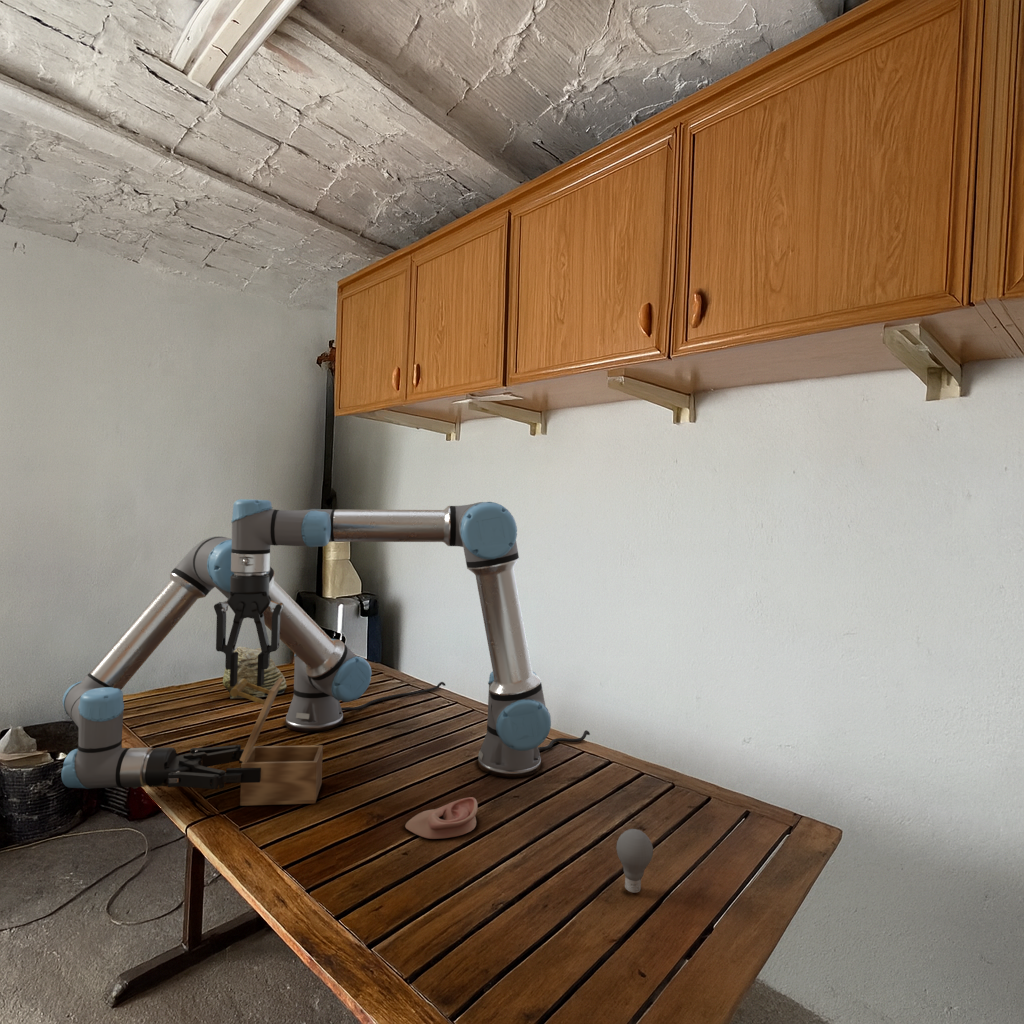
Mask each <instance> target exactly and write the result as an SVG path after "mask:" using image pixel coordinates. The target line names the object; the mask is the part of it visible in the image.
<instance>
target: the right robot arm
mask: <svg viewBox="0 0 1024 1024" xmlns="http://www.w3.org/2000/svg"><path fill="white" fill-rule="evenodd" d="M230 523H231V539H232V551H231V552H232V553H231V571H232V572H234V574H232V576H231V578H230V596H229V598H227V600H225V601H219V602H217V603H215V604H214V605H213V609H214V612H215V615H216V626H215V627H216V630H215V650H216V652H221V653H223V654H225V665H224V666H225V667H224V668H226V669H230V686H235V685H236V683H237V676H238V652H234V651H235V650H236V646H237V643H238V638H239V635H240V633H241V628H242V624H243V621H244V619H251V620H252V619H253V622H254V625H255V628H256V633H257V638H258V642H259V645H260V648H261V651H262V652H261V653H260V654H259V655H258V671H257V686H261V685H262V684H263V683H264V669H267V668H268V667H269V664H270V658H271V653H274V652H276V651H277V650H278V649H279V648H280V641H281V640H280V614H281V611H282V609H283V606H284V604H283V603H277V602H274V601H271V598H270V596H269V575H268V574H267V572H268V571H269V570H270V567H271V546H285V547H286V546H288V547H309V548H314V547H315V548H316V547H325V546H328V544H329V543H333V542H334V543H337V542H339V543H341V542H342V543H347V542H348V543H352V542H353V543H362V542H363V543H444V544H445V545H446V546H447V547H460V548H463V552H464V559H465V564H466V569H467V570H469V571H470V572H471V573H473V574H474V575H475V580H476V585H477V591H478V596H479V602H480V607H481V613H482V619H483V624H484V625H483V626H484V629H485V635H486V641H487V646H488V647H487V648H488V653H489V656H490V657H489V658H490V663H491V669H492V671H491V672H490V674H489V678H488V681H487V684H488V696H487V697H488V699H487V718H486V721H487V722H486V733H485V736H484V739H483V741H482V744H481V747H480V749H479V751H478V754H477V756H478V757H477V765H478V767H479V768H480V769H481V770H482V771H483V772H485V773H487V774H489V775H491V776H496V777H500V778H512V779H513V778H514V779H515V778H524V777H528V776H531V775H534V774H535V773H538V771H539V770H540V769H541V765H542V763H541V762H542V757H541V753H540V752H543V751H548V750H550V749H551V748H552V747H553V746H554V744H555V743H561V742H563V743H564V742H565V743H580V742H582V741H584V740H585V739H586V737H587V736H590V735H591V733H590V731H589V730H588V729H586V730H584V731H583V734H582V736H580V737H578V738H570V737H569V738H568V737H557V738H553V739H552V740H551V741H550V742H549V744H548V745H545V746H540V745H541V744H543V743H544V741H546V739H547V738H548V736H549V734H550V731H551V728H552V721H551V720H552V719H551V718H552V717H551V713H550V711H549V709H548V708H547V707H546V702H545V701H546V700H545V697H544V690H543V684H542V679H541V678H540V677H539V675H537V673H536V672H534V671H533V668H532V662H531V657H530V650H529V644H528V639H527V635H526V629H525V623H524V618H523V616H524V615H523V613H522V612H523V611H522V606H521V601H520V595H519V589H518V583H517V578H516V572H515V567H516V565H517V563H518V562H519V560H520V555H519V550H518V543H517V537H518V525H517V523H516V520H515V518H514V516H513V514H512V513H511V512H510V510H509V509H507V508H506V507H505V506H503V505H502V504H499V503H498V502H492V501H480V502H474V503H470V504H463V505H447V506H446V507H445V508H444V509H341V508H339V509H327V508H326V509H320V508H308V509H301V510H299V509H298V510H297V509H295V510H294V509H293V510H292V509H291V510H289V509H284V510H283V509H277V508H276V509H275V508H274V509H273V507H272V501H271V500H269V499H245V498H241V499H236V500H235V501H234V502H233V505H232V516H231V522H230ZM268 606H270V607H271V612H272V613H273V614H272V631H271V630H270V631H271V634H270V641H269V635H268V631H267V626H266V625H265V622H264V615H263V612H264V611H265V610H266V609H267V607H268ZM229 608H230V609H231V610H232V612H233V613H234V617H233V620H232V625H231V629H230V632H229V636H228V640H227V641H226V639H227V611H228V610H229Z"/></svg>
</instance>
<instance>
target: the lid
mask: <svg viewBox="0 0 1024 1024" xmlns="http://www.w3.org/2000/svg"><path fill="white" fill-rule="evenodd" d="M282 681H283V679H282V678H279V679H278V680H277V682H276V683H275V684H274V686H273V687H272V688H271V690H268V689H265V688H262V687H260V686H257V685H254V684H251V683H249V682H248V680H247V679H245V678H243V679H241V680H240V681H239V682H238V683H237V684H236V685H235V687H234V688H233V689H232V690H231V691H230V692H229V695H230V694H231V696H234V697H235V696H237V695H238V696H241V697H244V698H243V699H247V700H250V701H253V702H255V703H258V704H261V705H262V708H261V710H260V712H259V715H258V717H257V719H256V721H255V724H254V726H253V728H252V731H251V732H250V734H249V735H250V736H249V738H248V740H247V742H246V744H245V747H244V748H243V749H244V751H243V754H242V756H241V758H240V761H242V762H244V761H245V759H246V758H247V756H248V754H249V753H250V751H251V750H252V748H253V747H254V746H255V745H256V743H257V740H258V738H259V736H260V735H261V731H262V729H263V727H264V725H265V723H266V720H267V718H268V716H269V713H270V711H271V709H272V706H273V704H274V702H275V699H276V697H277V695H278V694H277V692H278V690H279V688H280V685H281V683H282ZM245 686H247V687H250V688H253V689H256V690H258V691H261V692H264V693H267V694H268V696H266V698H265V699H262V698H261V697H255V696H252V695H249V694H246V693H243V692H241V691H242V690H243V688H244V687H245Z"/></svg>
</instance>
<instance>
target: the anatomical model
mask: <svg viewBox="0 0 1024 1024" xmlns="http://www.w3.org/2000/svg"><path fill="white" fill-rule="evenodd" d="M478 805H479V804H478V801H477V799H476V798H475V797H471V796H469V797H464V798H460V799H457V800H454V801H452V802H449V803H446V804H444V805H442V806H440V807H437V808H435V809H427V810H424V811H421V812H419V813H417V814H416V815H413V816H412V817H411V818H410V819H409V820H408V821H407V822H406V823H405V825H404V827H405V829H406V830H408V831H409V832H411V833H413V834H415V835H416V836H418V837H422V838H424V839H427V840H428V839H430V840H437V839H438V840H439V839H449V838H455V837H459V836H463V835H466V834H468V833H470V832H472V831H473V830H474V829H475V828H476V826H477V818H476V815H477V813H478V807H479V806H478Z"/></svg>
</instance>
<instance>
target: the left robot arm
mask: <svg viewBox="0 0 1024 1024" xmlns="http://www.w3.org/2000/svg"><path fill="white" fill-rule="evenodd" d="M231 551H232V537H231V538H230V537H226V536H211V537H208V538H205V539H202V540H201V541H200V542H198V543H197V544H195V545H194V547H192V548H191V549H190V550H189V551H188V552H187V553H186V554H185V556H183V558H181V560H180V561H179V563H178V564H177V565H176V566H175V567H174V568H173V569H172V570H171V572H170V573H169V581H168V582H167V583H166V585H164V587H162V589H161V590H160V591H159V592H158V593H157V594H156V595H155V597H154V598H153V599H152V600H151V602H149V604H148V605H147V606H146V607H145V609H143V610H142V612H141V613H140V614H139V615H138V616H137V618H136V619H135V620H134V621H133V622H132V623H131V625H130V626H129V627H128V628H127V629H126V630H125V631H124V633H123V634H122V635H121V636H120V637H119V638H118V640H116V642H115V643H114V644H113V645H112V646H111V647H110V649H109V650H108V651H107V652H106V653H105V654H104V655H103V657H102V658H101V659H100V660H99V661H98V663H97V664H96V665H95V666H94V667H93V668H92V669H91V671H90V672H89V673H88V674H87V675H86V676H85V677H84V678H83V679H82V680H80V681H77V682H74V683H73V684H71V685H70V686H69V687H68V688H67V689H66V690H65V691H64V694H63V696H62V701H61V702H62V706H63V709H64V712H65V713H66V715H67V716H68V717H69V718H71V720H72V721H73V723H74V724H75V725H76V726H77V728H78V739H77V740H78V741H77V742H78V744H77V745H78V746H77V748H75V749H72V750H71V751H69V753H68V754H67V755H66V757H65V758H64V761H63V766H62V768H61V772H60V773H61V774H60V775H61V781H62V783H63V785H64V786H65V787H67V788H68V789H85V790H92V789H110V788H132V789H133V790H136V789H138V788H145V787H147V786H148V787H149V788H162V787H163V788H166V787H168V788H178V787H179V788H193V789H205V790H217V789H219V790H222V789H224V788H225V785H226V784H241V783H256V782H260V778H261V768H241V767H226V769H225V770H223V769H219V768H214V767H215V766H220V765H225V764H230V763H235V762H238V764H242V761H240V758H241V756H242V754H243V751H244V749H245V748H243V749H241V748H242V745H241V744H233V745H232V744H231V745H223V746H213V747H212V746H211V747H192V748H190V750H189V751H190V752H188V753H183V754H178V753H177V750H176V749H175V747H172V746H171V747H169V746H167V747H155V748H154V747H151V746H149V747H123V745H122V744H123V727H124V709H125V703H124V692H123V689H124V688H125V686H126V685H127V684H128V683H129V681H131V679H132V678H133V676H134V675H136V673H137V672H138V671H139V669H140V668H141V667H142V666H143V664H144V663H145V662H146V661H147V660H148V659H149V658H150V656H151V655H152V654H153V653H154V652H155V650H156V649H157V648H158V647H159V646H160V644H162V642H163V641H164V640H165V639H166V637H167V636H168V635H169V634H170V633H171V632H172V630H173V629H174V628H175V627H176V625H178V623H179V622H180V621H181V620H182V618H184V617H185V615H186V614H187V613H188V611H189V610H190V609H191V608H192V607H193V605H194V604H195V603H196V602H197V601H198V600H199V599H202V598H203V599H204V598H206V597H207V595H209V593H210V592H211V591H212V590H213V589H214V588H215V589H217V590H218V591H219V592H220V593H221V594H222V595H223V596H224V597H225V598H226V599H228V598H229V596H230V578H231V576H232V574H234V572H232V571H231V553H232V552H231ZM267 574H268V575H269V596H270V598H271V601H274V602H277V603H283V604H284V606H283V609H282V611H281V614H280V641H281V642H282V643H283V644H284V645H285V646H286V647H287V648H288V649H289V650H290V651H291V652H293V654H294V655H293V657H294V672H293V695H292V696H293V697H292V699H291V702H290V704H289V708H288V711H287V713H286V715H285V726H286V728H287V729H289V730H291V731H294V732H295V731H296V732H301V733H316V732H325V731H329V730H332V729H335V728H337V727H339V726H340V725H342V723H343V722H344V713H343V711H344V712H345V711H358V710H362V709H364V708H366V707H368V706H370V705H372V704H376V703H378V702H382V701H385V700H389V699H395V698H400V697H406V696H413V695H419V694H423V693H429V692H432V691H437V689H439V688H440V687H441V686H445V687H446V683H445V682H444V681H440V682H439V683H438V684H437V685H435V686H433V687H430V688H425V689H421V690H415V691H410V692H403V693H402V692H401V693H396V694H392V695H387V696H382V697H379V698H375V699H372V700H369V701H368V702H366V703H364V704H361V705H358V706H344V707H343V706H341V702H343V703H350V702H353V701H357V700H358V699H359V698H361V697H362V696H363V695H364V694H365V693H366V691H367V690H368V688H369V686H370V684H371V680H372V675H373V674H372V672H373V671H372V667H371V665H370V663H369V661H367V660H366V659H365V657H362V656H359V655H357V654H355V653H354V652H353V651H352V650H351V649H350V648H349V647H348V646H347V644H346V643H344V641H343V640H341V639H337V638H331V637H330V636H329V635H328V634H327V633H326V632H325V630H323V629H322V628H321V627H320V626H319V625H318V623H316V621H315V620H314V619H312V617H310V615H308V614H307V612H306V611H305V610H304V609H303V608H302V607H301V606H300V605H299V604H298V603H297V602H296V601H295V600H294V599H293V598H292V597H291V595H289V594H288V593H287V591H285V590H284V589H283V587H281V585H279V583H278V582H277V581H276V580H275V574H276V572H275V570H274V569H273V568H272V567H271V566H270V570H269V571H268V572H267ZM272 614H273V613H272V612H271V607H270V606H268V607H267V609H266V610H265V611H264V612H263V615H264V622H265V626H266V628H268V629H269V631H272Z"/></svg>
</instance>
